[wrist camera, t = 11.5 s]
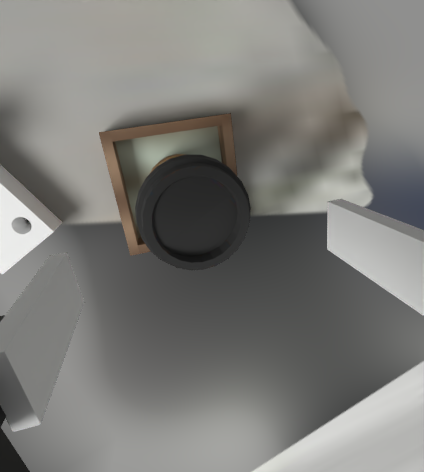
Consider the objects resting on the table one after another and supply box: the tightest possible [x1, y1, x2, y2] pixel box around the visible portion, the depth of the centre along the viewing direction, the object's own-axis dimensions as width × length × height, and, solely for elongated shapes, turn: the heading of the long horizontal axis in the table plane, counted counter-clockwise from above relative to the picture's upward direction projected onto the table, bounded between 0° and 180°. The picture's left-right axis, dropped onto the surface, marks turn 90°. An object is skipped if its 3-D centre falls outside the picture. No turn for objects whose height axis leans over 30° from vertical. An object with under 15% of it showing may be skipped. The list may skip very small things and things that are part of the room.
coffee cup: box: [135, 154, 250, 270], centre depth 27 cm, size 8×8×15 cm
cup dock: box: [99, 113, 237, 255], centre depth 33 cm, size 13×13×3 cm
